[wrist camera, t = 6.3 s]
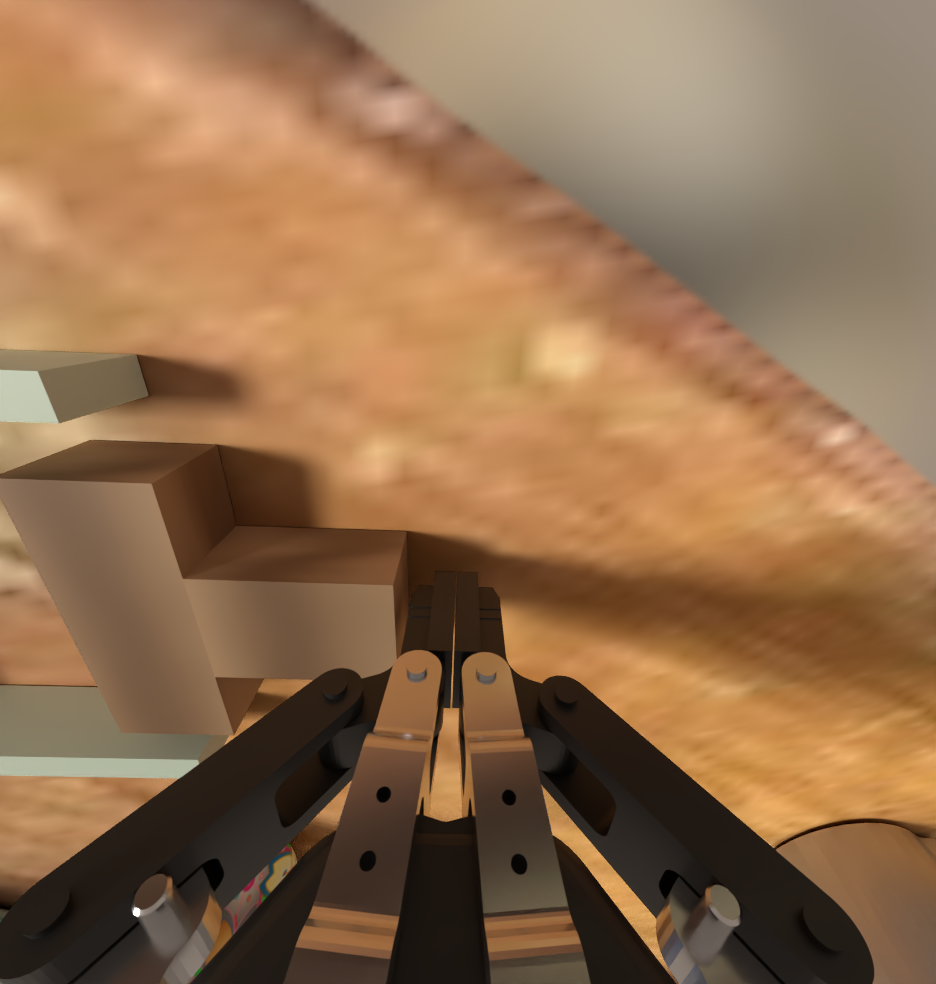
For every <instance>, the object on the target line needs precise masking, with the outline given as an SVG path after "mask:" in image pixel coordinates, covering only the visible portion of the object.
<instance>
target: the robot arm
mask: <svg viewBox="0 0 936 984" xmlns="http://www.w3.org/2000/svg"><path fill="white" fill-rule="evenodd" d="M455 579H456V572H450V571H435V579H434V586H430V585H419V587H418V588H417V589H416V590H415V591H414V593H413V594H412V596H411V602H410V608H409V612H408V618H407V623H406V628H405V634H404V639H403V644H402V650H401V654H400V657H399V658H398V659H397V660H396V661H395V663H394V665H393V666H392V667H391V668H390V669H388V670H386V671H385V672H382V673H380V674H377V675H373V676H369V677H366V678H362V679H361V677H360V675H359V674H358V673H357V672H355V671H353V670H351V669H347V668H337V669H332V670H329V671H327V672H325V673H323V674H322V675H320V676H319V677H317V678H316V679H315V680H313V681H312V682H311V683H309V684H308V685H306V686H305V687H304V688H302V689H301V690H300V691H298V692H297V693H295V694H294V695H293V696H291V697H290V698H289V699H287V700H286V701H285V702H283V703H282V704H280V705H279V706H278V707H276V708H275V709H274V710H272V711H271V712H270V713H268V714H267V715H265V716H264V717H263V718H261V719H260V720H259V721H257V722H256V723H254V724H253V725H252V726H250V727H249V728H248V729H246V730H245V731H244V732H242V733H241V734H239V735H238V736H237V737H235V738H234V739H233V740H231V741H230V742H229V743H227V744H226V745H224V746H223V747H222V748H220V749H219V750H218V751H216V752H215V753H213V754H212V755H211V756H209V757H208V758H207V759H205V760H204V761H203V762H201V763H200V764H198V765H197V766H196V767H194V768H193V769H192V770H190V771H189V772H188V773H186V774H185V775H183V776H182V777H181V778H179V779H178V780H177V781H175V782H174V783H173V784H171V785H170V786H168V787H167V788H166V789H164V790H163V791H162V792H160V793H159V794H157V795H156V796H155V797H153V798H152V799H151V800H149V801H148V802H147V803H145V804H144V805H142V806H141V807H140V808H138V809H137V810H136V811H134V812H133V813H132V814H130V815H129V816H127V817H126V818H125V819H123V820H122V821H121V822H119V823H118V824H116V825H115V826H114V827H112V828H111V829H110V830H108V831H107V832H106V833H104V834H103V835H101V836H100V837H99V838H97V839H96V840H95V841H93V842H92V843H91V844H89V845H88V846H86V847H85V848H84V849H82V850H81V851H80V852H78V853H77V854H75V855H74V856H73V857H71V858H70V859H69V860H67V861H66V862H65V863H63V864H62V865H60V866H59V867H58V868H56V869H55V870H54V871H52V872H51V873H50V874H48V875H47V876H45V877H44V878H43V879H41V880H40V881H39V882H37V883H36V884H35V885H34V886H32V887H31V888H30V889H29V890H28V891H27V892H26V893H25V894H24V895H22V896H21V898H20V899H19V900H18V901H17V902H16V903H15V904H14V905H13V906H12V907H11V909H10V910H9V911H8V912H7V914H6V915H5V916H4V918H3V919H2V921H1V922H0V981H1V982H2V983H3V984H188V983H189V981H190V980H191V978H192V977H193V976H194V974H195V973H196V972H197V971H198V969H199V968H200V967H201V966H202V964H203V963H204V962H205V960H206V959H207V957H208V956H209V954H210V952H211V950H212V948H213V947H214V945H215V942H216V940H217V937H218V934H219V931H220V927H221V920H222V910H223V909H224V908H225V907H226V906H227V905H228V904H229V903H230V902H231V901H232V900H233V899H234V898H235V897H236V896H237V895H238V894H239V893H240V892H241V891H242V890H243V889H244V888H245V887H246V886H247V885H248V884H249V883H250V882H251V881H252V880H253V879H254V878H255V877H256V876H257V875H258V874H259V873H260V872H261V871H262V870H263V869H264V868H265V867H266V866H267V865H268V864H269V863H270V862H271V861H272V860H273V859H274V858H275V857H276V856H277V855H278V854H279V853H280V852H281V851H282V850H283V849H284V848H285V847H286V846H287V845H288V844H289V843H290V842H291V841H292V840H293V839H294V838H295V837H296V836H297V835H298V834H299V833H300V832H301V831H302V830H303V829H304V828H305V827H306V826H307V825H308V824H309V823H310V822H311V820H312V819H313V818H314V817H315V816H316V815H317V814H318V813H319V812H320V811H321V810H322V809H323V808H324V807H325V806H326V805H327V804H328V803H329V802H330V801H331V800H332V799H333V798H334V797H335V796H336V795H337V794H338V793H339V792H340V791H341V790H342V789H343V788H344V787H345V786H346V785H347V784H348V783H349V782H350V781H351V780H352V782H351V785H350V788H349V792H348V795H347V798H346V801H345V805H344V808H343V811H342V814H341V817H340V821H339V824H338V827H337V830H336V831H334V832H332V833H331V834H329V835H327V836H326V837H325V838H323V839H322V840H321V841H319V842H318V843H317V844H316V845H315V846H313V847H312V848H311V849H310V850H309V851H308V852H307V853H306V854H305V855H304V856H303V857H302V858H301V859H300V860H299V861H298V863H297V864H296V865H295V866H294V867H293V868H292V869H291V870H290V872H289V873H288V874H287V875H286V876H285V877H284V878H283V879H282V881H281V882H280V883H279V884H278V885H277V886H276V887H275V888H274V890H273V891H272V892H271V893H270V894H269V895H268V896H267V897H266V899H265V900H264V901H263V902H262V903H261V904H260V905H259V906H258V908H257V909H256V910H255V911H254V912H253V913H252V914H251V915H250V917H249V918H248V919H247V920H246V921H245V922H244V923H243V924H242V926H241V927H240V928H239V929H238V930H237V931H236V932H235V933H234V935H233V936H232V937H231V938H230V939H229V940H228V941H227V942H226V944H225V945H224V946H223V947H222V948H221V949H220V950H219V951H218V953H217V954H216V955H215V956H214V957H213V958H212V959H211V960H210V962H209V963H208V964H207V965H206V966H205V967H204V968H203V969H202V971H201V972H200V973H199V974H198V975H197V976H196V977H195V978H194V980H193V981H192V982H191V983H190V984H676V983H675V982H674V980H673V979H672V978H671V977H670V975H669V974H668V973H667V971H666V970H665V969H664V967H663V966H662V965H661V963H660V962H659V961H658V960H657V958H656V957H655V956H654V954H653V953H652V952H651V950H650V949H649V948H648V947H647V945H646V944H645V943H644V941H643V940H642V939H641V937H640V936H639V935H638V933H637V932H636V931H635V930H634V928H633V927H632V926H631V924H630V923H629V922H628V920H627V919H626V918H625V917H624V915H623V914H622V913H621V911H620V910H619V909H618V907H617V906H616V905H615V903H614V902H613V901H612V900H611V898H610V897H609V896H608V894H607V893H606V892H605V890H604V889H603V888H602V887H601V885H600V884H599V883H598V881H597V880H596V879H595V877H594V876H593V875H592V873H591V872H590V871H589V870H588V868H587V867H586V866H585V864H584V863H583V862H582V861H581V859H580V858H579V857H578V856H577V855H576V854H575V853H574V852H573V851H572V850H571V849H570V848H569V847H568V846H567V845H565V844H564V843H563V842H562V841H561V840H559V839H558V838H556V837H555V836H553V835H552V831H551V826H550V822H549V817H548V813H547V808H546V804H545V799H544V795H543V790H542V786H543V787H544V788H545V789H546V790H547V791H548V793H549V794H550V795H551V796H552V797H553V798H554V800H555V801H556V802H557V803H558V804H559V805H560V807H561V808H562V809H563V810H564V811H565V812H566V814H567V815H568V816H569V817H570V818H571V820H572V821H573V822H574V823H575V824H576V825H577V827H578V828H579V829H580V830H581V831H582V832H583V834H584V835H585V836H586V837H587V838H588V839H589V841H590V842H591V843H592V844H593V845H594V846H595V848H596V849H597V850H598V851H599V852H600V853H601V855H602V856H603V857H604V858H605V859H606V860H607V862H608V863H609V864H610V865H611V866H612V867H613V869H614V870H615V871H616V872H617V873H618V874H619V876H620V877H621V878H622V879H623V880H624V881H625V883H626V884H627V885H628V886H629V887H630V888H631V890H632V891H633V892H634V893H635V894H636V895H637V897H638V898H639V899H640V900H641V901H642V902H643V904H644V905H645V906H646V907H647V908H648V909H649V911H650V912H651V913H652V914H653V915H654V916H655V918H656V919H657V920H656V935H657V940H658V944H659V948H660V951H661V953H662V956H663V958H664V960H665V962H666V964H667V966H668V968H669V969H670V971H671V972H672V974H673V975H674V977H675V978H676V980H677V981H678V983H679V984H936V839H935V838H921V837H918V836H916V835H915V834H913V833H912V832H910V831H909V830H907V829H904V828H902V827H899V826H896V825H889V824H883V823H857V824H846V825H840V826H835V827H830V828H826V829H822V830H819V831H815V832H812V833H809V834H806V835H804V836H801V837H799V838H796V839H794V840H792V841H790V842H788V843H786V844H784V845H783V846H781V847H779V848H778V849H776V850H775V849H774V848H772V847H771V846H770V845H769V844H768V843H767V842H765V841H764V840H763V839H762V838H761V837H760V836H758V835H757V834H756V833H755V832H754V831H753V830H751V829H750V828H749V827H748V826H747V825H746V824H744V823H743V822H742V821H741V820H740V819H739V818H737V817H736V816H735V815H734V814H733V813H732V812H730V811H729V810H728V809H727V808H726V807H725V806H723V805H722V804H721V803H720V802H719V801H718V800H716V799H715V798H714V797H713V796H712V795H711V794H709V793H708V792H707V791H706V790H705V789H704V788H702V787H701V786H700V785H699V784H698V783H697V782H695V781H694V780H693V779H692V778H691V777H690V776H688V775H687V774H686V773H685V772H684V771H682V770H681V769H680V768H679V767H678V766H677V765H675V764H674V763H673V762H672V761H671V760H670V759H668V758H667V757H666V756H665V755H664V754H663V753H661V752H660V751H659V750H658V749H657V748H656V747H654V746H653V745H652V744H651V743H650V742H649V741H647V740H646V739H645V738H644V737H643V736H642V735H640V734H639V733H638V732H637V731H636V730H635V729H633V728H632V727H631V726H630V725H629V724H628V723H626V722H625V721H624V720H623V719H622V718H621V717H619V716H618V715H617V714H616V713H615V712H614V711H612V710H611V709H610V708H609V707H608V706H607V705H605V704H604V703H603V702H602V701H601V700H600V699H598V698H597V697H596V696H595V695H594V694H593V693H591V692H590V691H589V690H588V689H587V688H586V687H584V686H583V685H582V684H581V683H579V682H578V681H576V680H574V679H572V678H570V677H566V676H553V677H550V678H548V679H546V680H545V681H544V682H543V683H542V684H541V683H538V682H535V681H532V680H529V679H526V678H524V677H522V676H520V675H519V674H517V673H516V672H515V671H514V670H513V669H512V668H511V667H510V665H509V663H508V661H507V659H506V653H505V644H504V635H503V626H502V616H501V607H500V598H499V596H498V595H497V594H496V592H495V591H494V589H493V588H489V587H478V572H458V573H457V595H456V620H455V647H454V675H453V703H452V708H459V728H458V743H459V760H460V778H461V795H462V818H460V819H456V820H453V821H449V822H443V821H439V820H436V819H433V818H430V817H429V815H430V805H431V797H432V790H433V782H434V775H435V768H436V761H437V754H438V747H439V739H440V730H441V728H442V724H443V709H444V708H450V701H451V677H452V652H453V628H454V604H455ZM541 784H542V786H541Z"/></svg>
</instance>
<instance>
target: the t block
mask: <svg viewBox="0 0 936 984" xmlns="http://www.w3.org/2000/svg"><path fill="white" fill-rule="evenodd" d="M0 498H1V500H2V502H3V504H4V506H5V508H6V510H7V512H8V514H9V516H10V518H11V520H12V522H13V524H14V526H15V527H16V529H17V531H18V533H19V535H20V537H21V539H22V541H23V543H24V545H25V547H26V549H27V551H28V553H29V555H30V557H31V559H32V560H33V562H34V564H35V566H36V568H37V570H38V572H39V574H40V576H41V578H42V580H43V582H44V584H45V586H46V588H47V590H48V592H49V593H50V595H51V597H52V599H53V601H54V603H55V605H56V607H57V609H58V611H59V613H60V615H61V617H62V619H63V621H64V623H65V625H66V626H67V628H68V630H69V632H70V634H71V636H72V638H73V640H74V642H75V644H76V646H77V648H78V650H79V652H80V654H81V656H82V657H83V659H84V661H85V663H86V665H87V667H88V669H89V671H90V673H91V675H92V677H93V679H94V681H95V683H96V685H97V687H98V689H99V690H100V692H101V694H102V696H103V698H104V700H105V702H106V704H107V706H108V708H109V710H110V712H111V714H112V716H113V718H114V720H115V722H116V723H117V725H118V727H119V729H120V731H121V733H148V734H194V735H235V733H236V731H237V729H238V727H239V725H240V723H241V721H242V719H243V718H244V716H245V714H246V712H247V710H248V708H249V706H250V704H251V702H252V701H253V699H254V697H255V695H256V693H257V691H258V689H259V687H260V686H261V684H262V682H263V680H264V678H270V679H309V680H315V679H316V678H317V677H319V676H320V675H322V674H323V673H325V672H327V671H329V670H332V669H337V668H347V669H351V670H353V671H355V672H357V673H358V674H359V675H360V677H361V679H362V678H366V677H369V676H373V675H377V674H380V673H382V672H385V671H386V670H388V669H390V668H391V667H392V666H393V665H394V663H395V661H396V660H397V659H398V658H399V657H400V654H401V650H402V644H403V639H404V634H405V628H406V623H407V618H408V612H409V592H408V557H407V531H381V530H351V529H320V528H290V527H260V526H236V522H235V517H234V513H233V509H232V505H231V501H230V497H229V492H228V488H227V484H226V480H225V476H224V472H223V467H222V463H221V459H220V455H219V451H218V447H217V445H205V444H178V443H152V442H125V441H98V440H89V441H87V442H84V443H81V444H79V445H76V446H73V447H71V448H68V449H65V450H63V451H60V452H58V453H55V454H52V455H50V456H47V457H44V458H42V459H39V460H36V461H34V462H31V463H28V464H26V465H23V466H21V467H18V468H15V469H13V470H10V471H7V472H5V473H2V474H0Z"/></svg>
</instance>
